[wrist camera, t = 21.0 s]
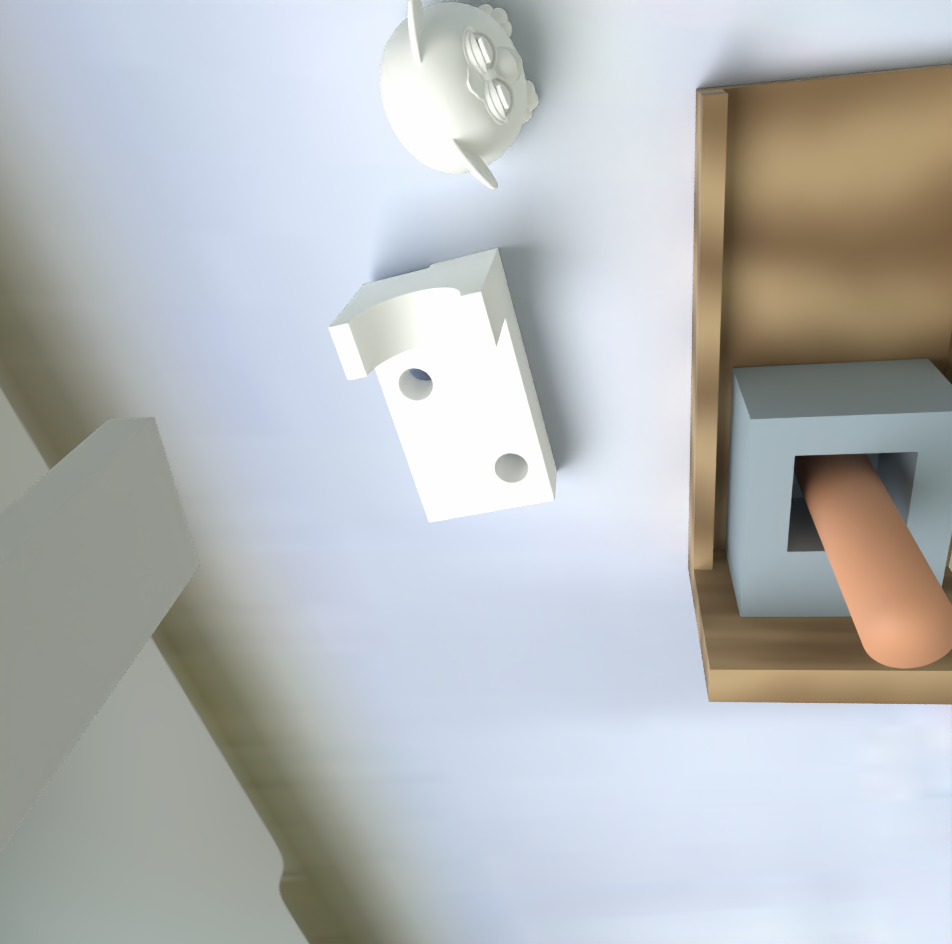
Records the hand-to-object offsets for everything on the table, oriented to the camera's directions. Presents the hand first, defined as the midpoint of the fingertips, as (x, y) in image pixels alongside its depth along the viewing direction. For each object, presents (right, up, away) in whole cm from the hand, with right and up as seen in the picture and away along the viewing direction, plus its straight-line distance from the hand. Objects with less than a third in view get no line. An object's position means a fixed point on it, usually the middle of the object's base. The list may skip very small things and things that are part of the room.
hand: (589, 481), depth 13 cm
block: (+16, +1, +33) cm, 36 cm away
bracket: (-2, +5, +35) cm, 35 cm away
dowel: (+16, +1, +31) cm, 35 cm away
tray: (+16, +6, +31) cm, 35 cm away
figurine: (-2, +18, +27) cm, 33 cm away
